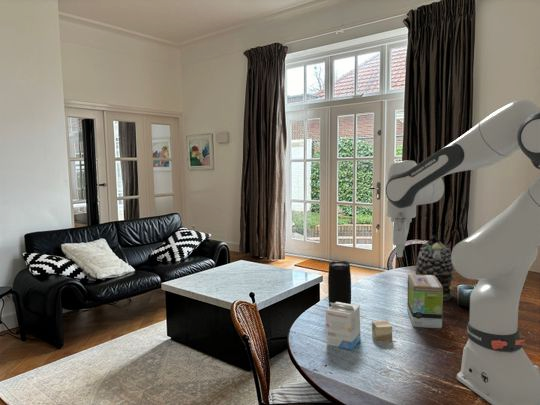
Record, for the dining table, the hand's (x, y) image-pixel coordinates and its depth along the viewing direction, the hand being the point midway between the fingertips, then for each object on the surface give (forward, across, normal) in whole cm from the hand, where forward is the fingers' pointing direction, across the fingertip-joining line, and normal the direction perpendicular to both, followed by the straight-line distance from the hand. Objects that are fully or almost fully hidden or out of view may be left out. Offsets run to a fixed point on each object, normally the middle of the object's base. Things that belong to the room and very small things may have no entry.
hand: (400, 253), depth 132 cm
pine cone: (+28, +43, -11) cm, 53 cm away
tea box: (+28, +15, -8) cm, 32 cm away
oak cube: (+28, -5, +5) cm, 29 cm away
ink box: (+28, -12, +16) cm, 34 cm away
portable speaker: (+28, +12, +22) cm, 38 cm away
